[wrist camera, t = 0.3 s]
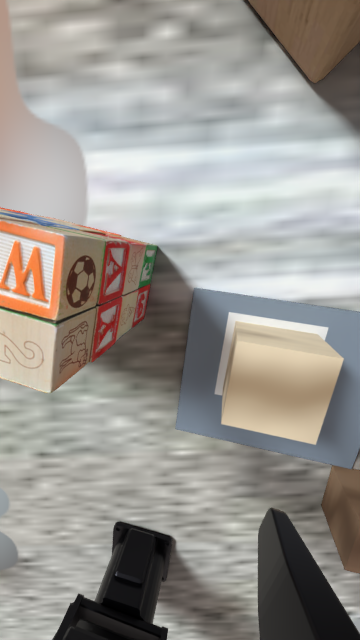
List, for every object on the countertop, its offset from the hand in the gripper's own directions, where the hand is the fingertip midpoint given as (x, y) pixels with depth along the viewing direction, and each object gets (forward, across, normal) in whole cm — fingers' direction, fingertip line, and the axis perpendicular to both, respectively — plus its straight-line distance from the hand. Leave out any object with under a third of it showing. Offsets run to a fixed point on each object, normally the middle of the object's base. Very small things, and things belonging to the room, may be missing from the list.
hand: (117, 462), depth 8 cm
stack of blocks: (+14, +14, -3) cm, 21 cm away
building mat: (+14, -8, +2) cm, 16 cm away
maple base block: (+14, -7, +1) cm, 15 cm away
